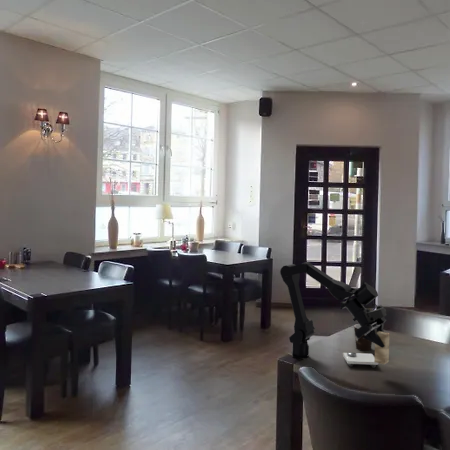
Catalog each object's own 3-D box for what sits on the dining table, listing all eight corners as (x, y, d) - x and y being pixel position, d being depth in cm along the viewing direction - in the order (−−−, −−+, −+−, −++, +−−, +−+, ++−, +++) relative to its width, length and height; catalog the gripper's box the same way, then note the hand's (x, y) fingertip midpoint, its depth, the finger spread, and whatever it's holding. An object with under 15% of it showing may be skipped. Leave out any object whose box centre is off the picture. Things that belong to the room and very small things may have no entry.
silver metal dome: (348, 356, 187) (348, 354, 187) (346, 353, 190) (346, 351, 190) (357, 357, 186) (357, 355, 186) (355, 354, 190) (355, 352, 190)
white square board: (347, 367, 182) (347, 361, 181) (342, 358, 192) (343, 352, 191) (378, 368, 181) (378, 362, 181) (371, 359, 191) (372, 353, 191)
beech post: (374, 361, 172) (375, 333, 172) (378, 359, 175) (379, 331, 175) (384, 364, 170) (386, 335, 169) (388, 361, 173) (389, 333, 172)
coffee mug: (374, 352, 200) (375, 330, 200) (354, 350, 202) (354, 328, 201) (371, 344, 211) (372, 323, 211) (352, 342, 213) (353, 321, 213)
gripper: (364, 303, 166) (393, 339, 160) (382, 295, 181) (409, 328, 175) (343, 321, 172) (370, 356, 165) (362, 311, 186) (388, 344, 180)
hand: (385, 345), depth 171 cm, fingers closed on beech post, 4 cm apart
